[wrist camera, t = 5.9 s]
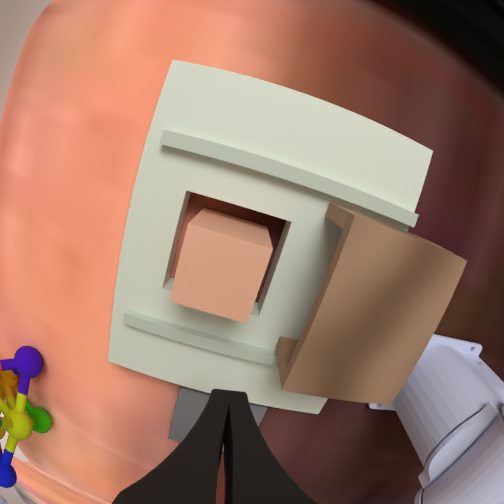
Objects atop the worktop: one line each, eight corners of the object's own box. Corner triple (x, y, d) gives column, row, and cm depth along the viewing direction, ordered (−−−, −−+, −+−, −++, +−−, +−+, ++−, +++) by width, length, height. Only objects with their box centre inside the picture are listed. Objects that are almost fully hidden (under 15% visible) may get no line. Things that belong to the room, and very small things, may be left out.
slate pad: (267, 403, 23) (267, 408, 23) (242, 450, 25) (242, 455, 24) (181, 382, 23) (180, 387, 22) (169, 433, 24) (168, 438, 24)
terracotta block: (266, 226, 19) (272, 248, 14) (247, 284, 20) (247, 323, 15) (204, 207, 19) (188, 223, 14) (188, 267, 20) (169, 300, 15)
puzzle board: (417, 151, 18) (437, 150, 15) (314, 397, 23) (319, 419, 21) (180, 69, 16) (170, 56, 14) (117, 346, 22) (105, 365, 19)
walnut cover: (427, 240, 17) (467, 261, 13) (369, 365, 20) (390, 405, 16) (329, 202, 17) (354, 215, 13) (275, 346, 19) (281, 390, 15)
